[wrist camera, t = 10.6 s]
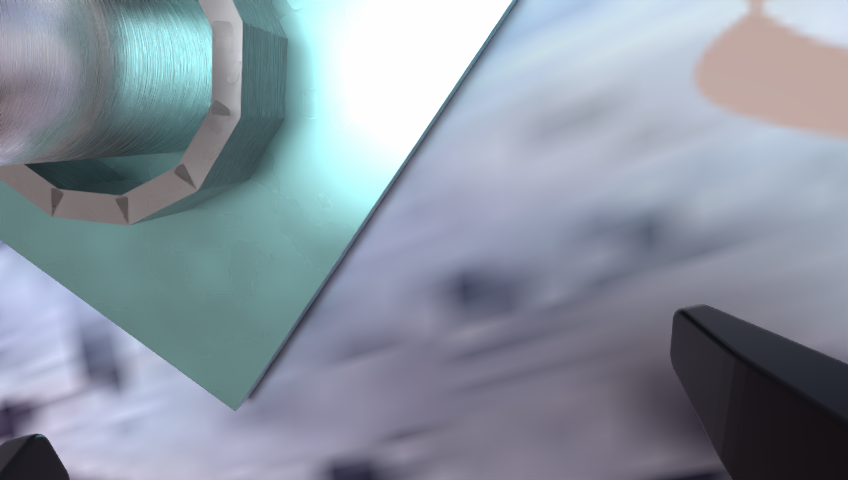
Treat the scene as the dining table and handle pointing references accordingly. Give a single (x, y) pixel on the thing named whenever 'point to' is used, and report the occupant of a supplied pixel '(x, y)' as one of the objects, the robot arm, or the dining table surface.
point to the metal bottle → (101, 78)
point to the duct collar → (251, 178)
